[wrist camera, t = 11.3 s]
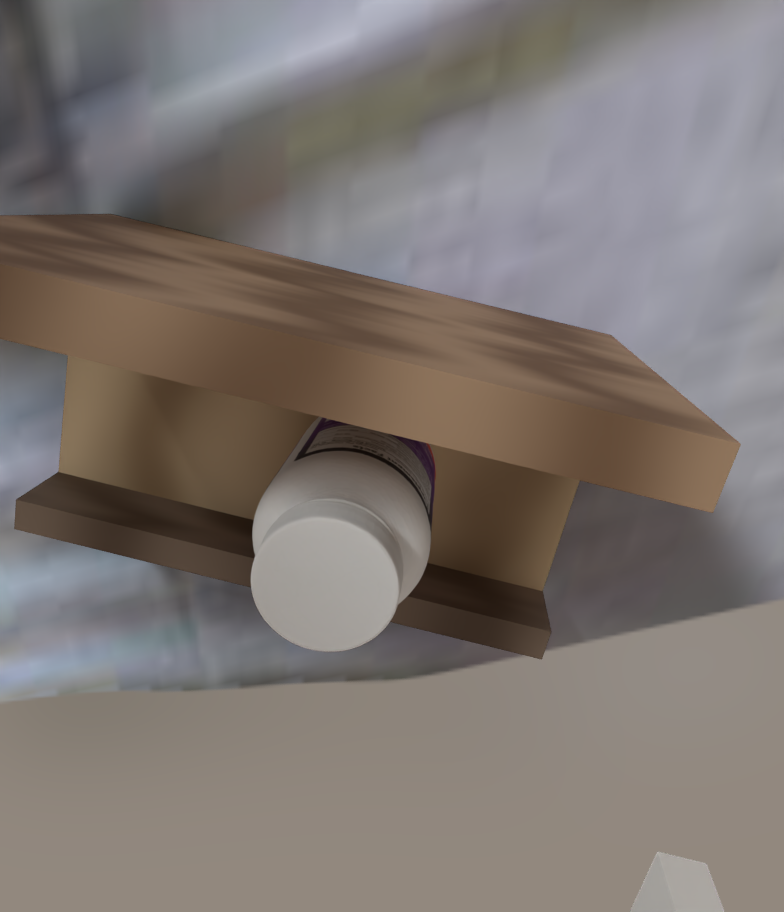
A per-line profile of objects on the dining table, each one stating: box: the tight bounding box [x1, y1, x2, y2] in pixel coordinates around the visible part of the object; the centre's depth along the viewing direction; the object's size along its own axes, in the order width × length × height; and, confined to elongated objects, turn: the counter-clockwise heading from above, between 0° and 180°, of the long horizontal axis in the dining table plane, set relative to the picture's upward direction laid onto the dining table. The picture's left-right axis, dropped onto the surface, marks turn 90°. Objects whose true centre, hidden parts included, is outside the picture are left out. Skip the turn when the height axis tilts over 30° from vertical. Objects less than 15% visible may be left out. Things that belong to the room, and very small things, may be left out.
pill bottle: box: [251, 417, 436, 652], centre depth 24 cm, size 5×5×10 cm
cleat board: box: [0, 214, 741, 659], centre depth 24 cm, size 20×11×14 cm, turn 77°
